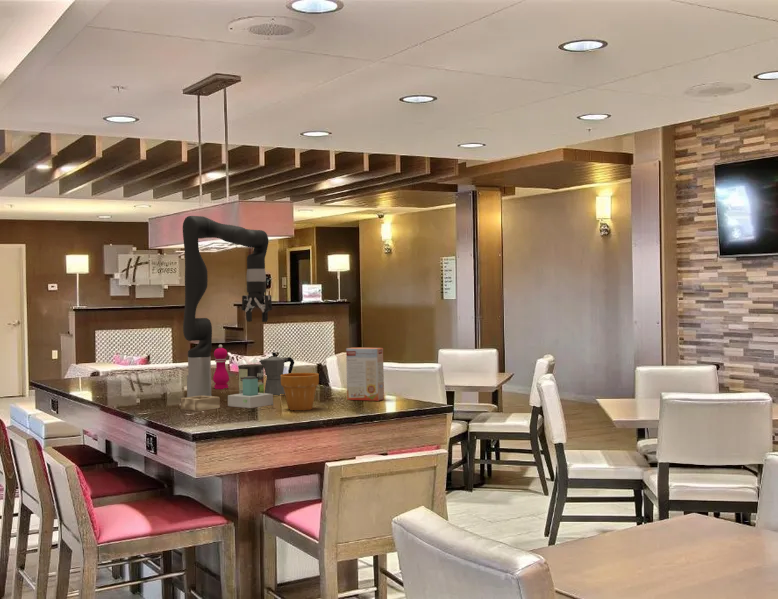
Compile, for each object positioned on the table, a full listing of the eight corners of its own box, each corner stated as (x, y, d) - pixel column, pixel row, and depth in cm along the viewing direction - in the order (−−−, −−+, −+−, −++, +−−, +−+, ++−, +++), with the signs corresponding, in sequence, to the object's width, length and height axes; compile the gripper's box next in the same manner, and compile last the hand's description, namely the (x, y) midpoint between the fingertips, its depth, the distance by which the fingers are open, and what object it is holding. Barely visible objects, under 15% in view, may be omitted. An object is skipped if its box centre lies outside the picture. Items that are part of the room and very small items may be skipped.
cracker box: (384, 399, 364) (383, 347, 363) (378, 401, 358) (377, 348, 358) (353, 398, 370) (352, 346, 369) (346, 400, 364) (345, 347, 364)
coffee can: (267, 398, 374) (267, 364, 374) (259, 401, 364) (258, 366, 364) (244, 398, 376) (243, 364, 376) (234, 401, 366) (234, 366, 366)
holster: (181, 411, 337) (180, 398, 337) (201, 408, 345) (201, 395, 345) (199, 413, 331) (198, 399, 331) (219, 410, 339) (219, 396, 339)
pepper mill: (232, 387, 415) (231, 344, 415) (224, 389, 409) (223, 345, 408) (218, 387, 418) (217, 343, 417) (210, 389, 411) (209, 345, 411)
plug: (243, 405, 345) (242, 376, 344) (250, 404, 348) (250, 376, 348) (250, 406, 342) (250, 377, 342) (258, 404, 345) (257, 376, 345)
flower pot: (304, 412, 329) (303, 376, 329) (273, 410, 337) (272, 375, 337) (326, 408, 341) (326, 373, 341) (296, 405, 349) (296, 372, 349)
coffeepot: (262, 396, 379) (261, 353, 379) (256, 394, 388) (256, 352, 388) (298, 394, 385) (297, 352, 385) (291, 392, 394) (290, 350, 394)
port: (227, 408, 344) (226, 395, 344) (251, 405, 353) (250, 392, 353) (249, 410, 336) (249, 397, 336) (273, 407, 346) (273, 393, 346)
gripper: (236, 280, 360) (237, 321, 360) (262, 280, 351) (263, 322, 352) (250, 280, 366) (251, 321, 366) (276, 280, 357) (276, 321, 358)
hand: (257, 321), depth 359 cm, fingers open, 8 cm apart
